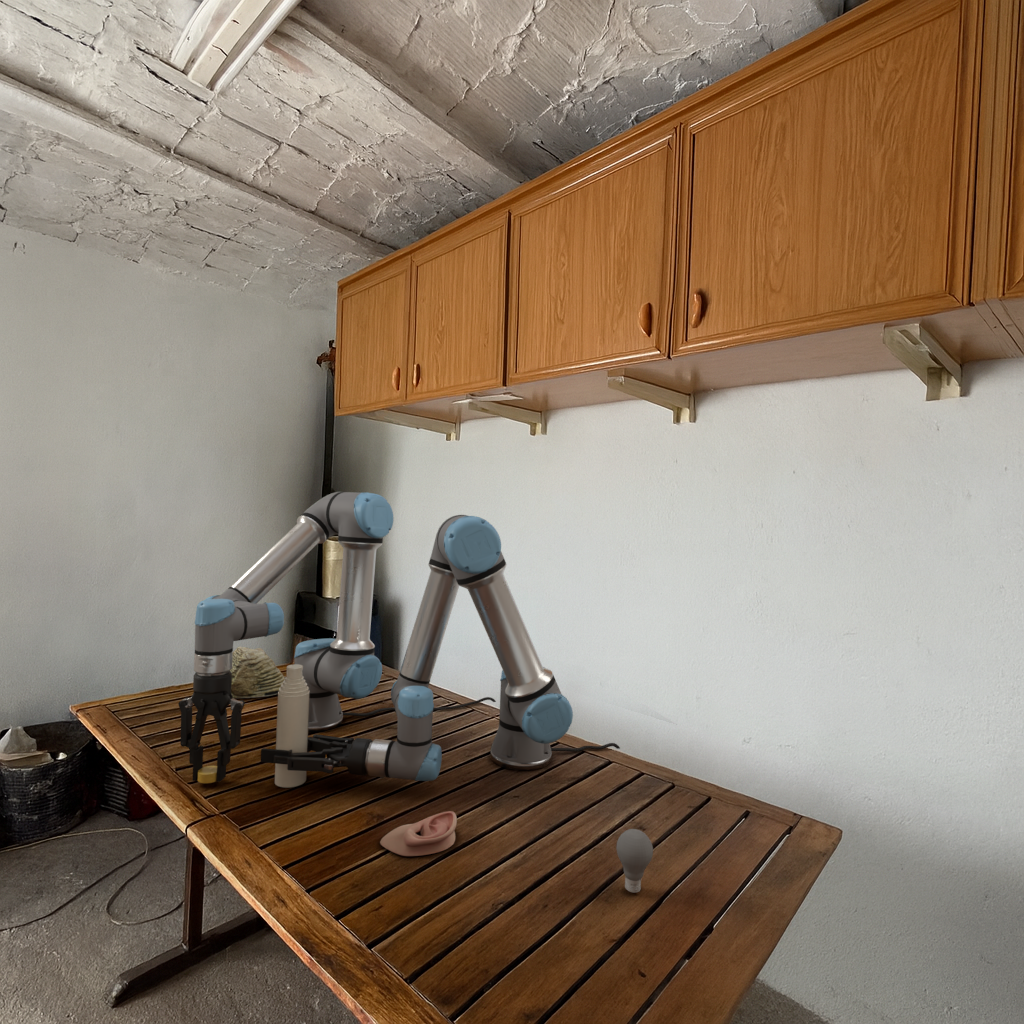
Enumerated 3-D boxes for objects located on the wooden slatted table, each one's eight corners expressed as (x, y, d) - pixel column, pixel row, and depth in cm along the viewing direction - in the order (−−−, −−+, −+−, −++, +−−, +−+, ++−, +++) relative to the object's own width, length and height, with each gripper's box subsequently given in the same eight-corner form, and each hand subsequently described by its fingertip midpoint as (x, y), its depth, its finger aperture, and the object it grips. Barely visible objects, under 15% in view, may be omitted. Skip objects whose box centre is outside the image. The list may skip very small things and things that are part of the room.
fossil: (218, 695, 195) (220, 647, 195) (278, 685, 208) (279, 640, 207) (228, 703, 189) (230, 653, 188) (289, 692, 201) (290, 645, 201)
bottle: (302, 787, 138) (307, 670, 137) (271, 787, 137) (275, 670, 136) (309, 774, 144) (313, 662, 144) (278, 774, 143) (282, 662, 143)
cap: (225, 776, 139) (225, 767, 139) (210, 784, 134) (210, 775, 134) (208, 772, 140) (208, 764, 140) (192, 781, 136) (192, 772, 136)
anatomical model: (373, 829, 114) (398, 800, 125) (372, 851, 114) (397, 820, 125) (444, 840, 111) (462, 809, 122) (443, 863, 111) (461, 830, 122)
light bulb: (610, 879, 108) (613, 822, 108) (644, 879, 109) (647, 822, 109) (619, 902, 102) (622, 840, 102) (655, 901, 103) (658, 840, 103)
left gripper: (163, 674, 133) (159, 784, 133) (246, 678, 133) (242, 788, 133) (181, 665, 141) (178, 769, 141) (260, 668, 140) (256, 773, 141)
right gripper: (353, 794, 129) (246, 784, 131) (383, 756, 148) (289, 748, 151) (355, 758, 129) (247, 748, 131) (384, 724, 148) (290, 717, 151)
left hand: (209, 778), depth 137 cm, fingers closed on cap, 4 cm apart
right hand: (270, 748), depth 141 cm, fingers closed on bottle, 7 cm apart
